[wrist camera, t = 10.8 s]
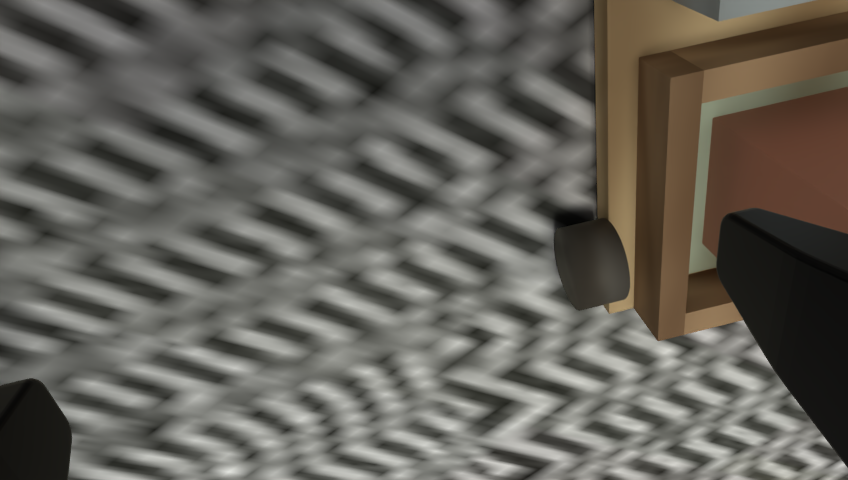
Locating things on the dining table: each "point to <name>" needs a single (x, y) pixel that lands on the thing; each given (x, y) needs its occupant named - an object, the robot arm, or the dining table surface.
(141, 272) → the dining table surface
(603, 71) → the chassis
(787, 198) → the reddish brown block
